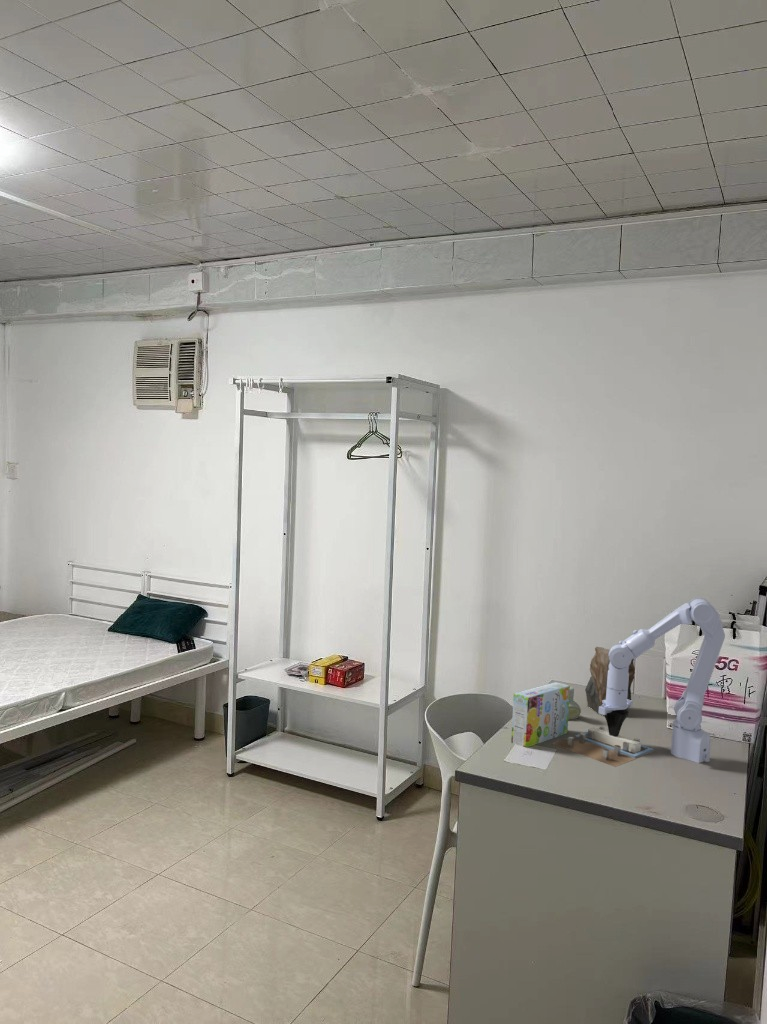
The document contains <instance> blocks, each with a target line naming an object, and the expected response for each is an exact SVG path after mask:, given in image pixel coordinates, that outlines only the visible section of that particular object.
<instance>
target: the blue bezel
mask: <svg viewBox="0 0 767 1024" xmlns="http://www.w3.org/2000/svg"><path fill="white" fill-rule="evenodd" d="M582 733H583V734H586V735H588V730H587V731H585V732H582ZM579 734H580V733H578V734H575V735H573V736H574V737H575V738H578V739H579ZM585 741H587V742H590V743H593V744H596V745H598V746H601V747H604V748H607V749H610V750H613V751H614V747H611V746H608V745H605V744H602V743H599V742H596V741H593V740H590V739H587V738H585ZM641 748H643V749H646V750H643V751H641V752H638V753H635V754H631V753H628V752H625V751H622V750H620V753H622V754H625V755H627V756H630V757H633V758H636V757H638V756H641V755H644V754H646V753H649V752H652V751H653V750H654V748H652V747H648V746H646V745H643V744H641Z"/></svg>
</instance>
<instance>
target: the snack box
mask: <svg viewBox="0 0 767 1024" xmlns="http://www.w3.org/2000/svg"><path fill="white" fill-rule="evenodd" d="M570 686H571V685H568V684H566V683H565V684H564V683H560V682H557V681H555V682H551V683H548V684H544V685H540V686H537V687H533V688H528V689H525V690H522V691H520V692H519V691H517V692H514V693H513V698H512V718H511V719H512V721H511V737H510V738H511V739H510V740H511V741H510V743H511V744H515V745H518V746H520V747H523V748H529V747H532V746H536V745H538V744H541V743H543V742H546V741H549V740H552V739H554V738H558V737H560V736H563V735H566V734H568V731H569V730H568V729H569V727H568V726H569V719H568V712H569V692H570Z"/></svg>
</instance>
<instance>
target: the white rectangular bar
mask: <svg viewBox="0 0 767 1024" xmlns="http://www.w3.org/2000/svg"><path fill="white" fill-rule="evenodd" d="M590 730H591V731H594V739H595V740H598V741H601V742H604V743H607V744H610V745H613V746H615V745H619V746H621V749H623V742H628V743H629V751H630V752H633V753H637V752H640V750H641V745H642V742H641V741H640V742H638V741H635V740H634V739H631V738H629V737H628V738H627V737H625V736H621V735H618V736H617V737H614V736H611V735H609V731H607V730H605V731H604V730H601V729H599V727H598V728H597V727H595V726H593V727H590V728H588V729H587V731H590Z"/></svg>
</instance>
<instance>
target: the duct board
mask: <svg viewBox="0 0 767 1024" xmlns="http://www.w3.org/2000/svg"><path fill="white" fill-rule="evenodd" d="M572 737H573V738H574V747H568V746H567V744H568V737H567V738H564V739H560V740H557V741H555V742H551V743H550V744H551V745H554V746H556V747H560V748H561V749H565V750H567V751H569V752H573V753H576V754H578V755H581V756H584V757H587V758H590V759H592V760H596V761H598V762H601V763H603V764H607V765H609V766H612V767H614V768H616V767H618V766H621V765H624V764H627V763H629V762H632V761H634V760H637V759H639V758H642V757H644V756H647V755H650V754H652V753H655V752H656V750H653V751H652V752H649V753H646V754H644V755H641V756H638V757H636V758H633V757H630V756H627V755H625V754H622V753H620V755H619V756H616V755H614V751H613V750H610V749H608V750H609V759H608V760H604V759H602V757H603V749H607V748H604V747H601V746H598V745H596V744H593V743H590V742H587V741H585V743H584V744H582V743H579V739H578V738H575V737H574V735H573V736H572ZM585 738H587V739H588V735H586V736H585ZM593 741H596V742H599V743H602V744H605V745H608V746H611V747H614V746H613V745H610V744H607V743H604V742H601V741H598V740H595V739H594V740H593ZM621 750H623V749H621ZM643 750H646V749H643V748H641V750H640V752H641V751H643ZM628 753H631V754H635V753H633V752H630V751H629V752H628ZM637 753H638V752H637Z"/></svg>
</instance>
